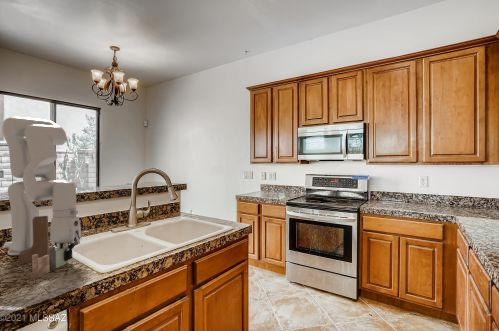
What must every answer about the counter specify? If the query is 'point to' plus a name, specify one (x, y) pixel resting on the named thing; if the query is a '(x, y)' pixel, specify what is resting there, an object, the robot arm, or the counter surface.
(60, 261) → the fence swing section
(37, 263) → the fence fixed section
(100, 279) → the counter surface
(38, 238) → the wooden block
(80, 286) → the counter surface
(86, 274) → the counter surface
